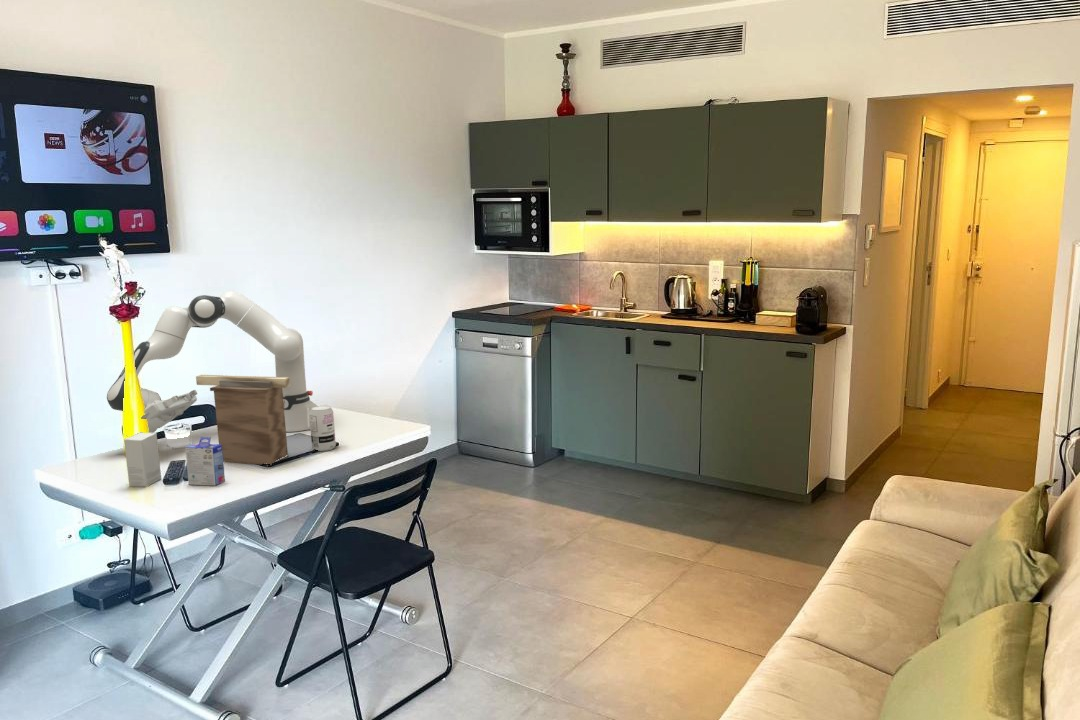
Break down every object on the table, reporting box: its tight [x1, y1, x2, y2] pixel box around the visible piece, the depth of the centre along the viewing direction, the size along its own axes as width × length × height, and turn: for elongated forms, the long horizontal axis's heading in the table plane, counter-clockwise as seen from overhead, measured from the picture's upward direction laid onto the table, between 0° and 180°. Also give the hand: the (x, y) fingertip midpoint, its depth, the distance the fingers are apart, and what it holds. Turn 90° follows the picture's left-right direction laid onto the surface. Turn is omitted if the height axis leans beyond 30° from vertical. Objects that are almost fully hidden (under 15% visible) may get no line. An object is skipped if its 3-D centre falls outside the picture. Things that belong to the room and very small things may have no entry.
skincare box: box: [123, 432, 162, 488], centre depth 265 cm, size 8×7×16 cm
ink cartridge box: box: [185, 436, 226, 486], centre depth 263 cm, size 10×6×14 cm, turn 78°
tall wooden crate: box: [209, 380, 289, 466], centre depth 287 cm, size 11×22×28 cm, turn 73°
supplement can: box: [309, 405, 337, 452], centre depth 299 cm, size 8×8×15 cm
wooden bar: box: [195, 374, 290, 388], centre depth 285 cm, size 3×35×3 cm, turn 74°
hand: (186, 394), depth 293 cm, fingers open, 8 cm apart
